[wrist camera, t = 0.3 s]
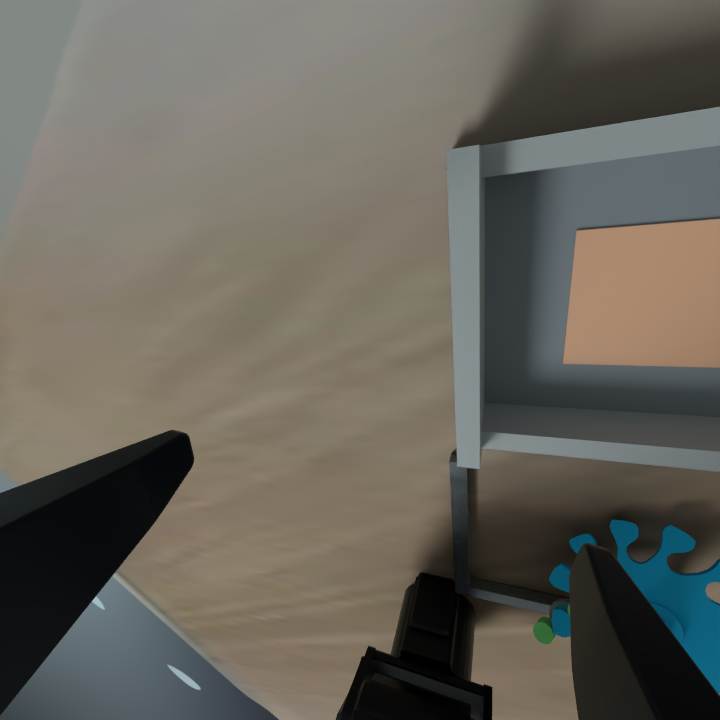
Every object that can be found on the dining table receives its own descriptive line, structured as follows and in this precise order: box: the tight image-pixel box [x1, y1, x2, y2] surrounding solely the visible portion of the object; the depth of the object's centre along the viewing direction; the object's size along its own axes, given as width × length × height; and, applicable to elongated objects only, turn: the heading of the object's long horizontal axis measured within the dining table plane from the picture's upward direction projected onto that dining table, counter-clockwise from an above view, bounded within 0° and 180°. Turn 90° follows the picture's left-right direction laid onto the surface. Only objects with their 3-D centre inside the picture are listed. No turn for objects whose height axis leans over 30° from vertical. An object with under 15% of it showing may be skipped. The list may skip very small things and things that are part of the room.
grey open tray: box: [446, 107, 720, 472], centre depth 14 cm, size 13×18×5 cm
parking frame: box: [450, 453, 569, 614], centre depth 23 cm, size 12×19×1 cm, turn 98°
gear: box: [533, 520, 720, 693], centre depth 21 cm, size 11×6×10 cm
